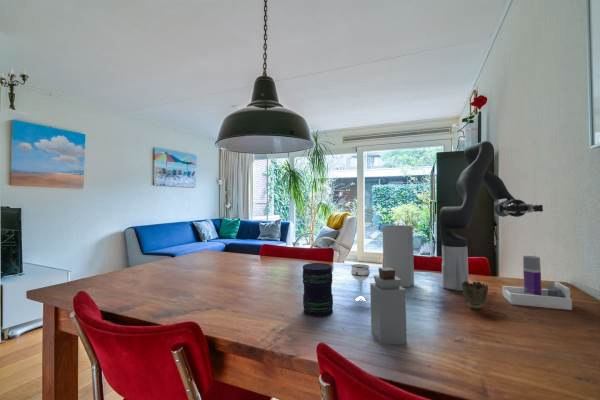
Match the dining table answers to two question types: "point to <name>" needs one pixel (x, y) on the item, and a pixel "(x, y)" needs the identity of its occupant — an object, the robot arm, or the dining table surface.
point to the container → (532, 275)
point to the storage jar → (317, 289)
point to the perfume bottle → (388, 308)
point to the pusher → (554, 291)
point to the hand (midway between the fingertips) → (523, 208)
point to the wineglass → (360, 277)
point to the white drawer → (539, 297)
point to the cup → (475, 294)
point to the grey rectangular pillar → (399, 252)
